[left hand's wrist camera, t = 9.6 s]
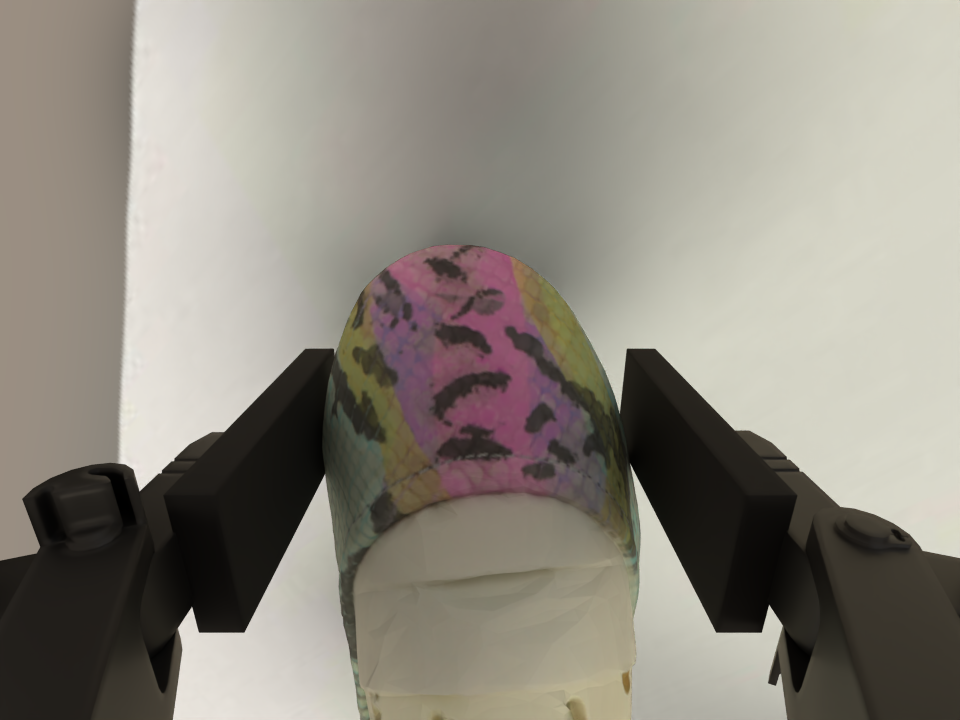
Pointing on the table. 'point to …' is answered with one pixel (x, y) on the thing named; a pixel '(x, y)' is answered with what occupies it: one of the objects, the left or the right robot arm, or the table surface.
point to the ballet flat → (479, 498)
